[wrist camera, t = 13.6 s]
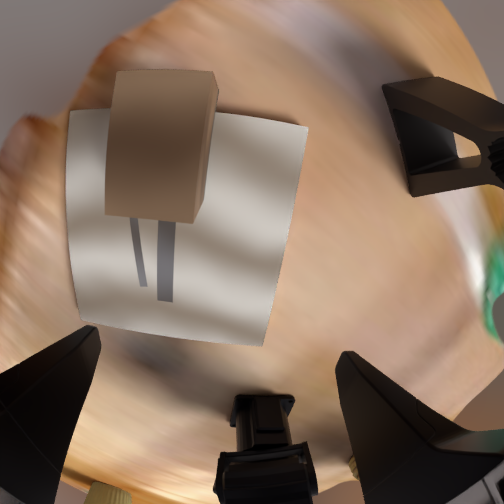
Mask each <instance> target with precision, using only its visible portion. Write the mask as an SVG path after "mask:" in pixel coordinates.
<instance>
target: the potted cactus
mask: <svg viewBox="0 0 504 504" xmlns="http://www.w3.org/2000/svg"><path fill="white" fill-rule="evenodd" d="M84 504H132V500H131V494H130V493H128V492H126V491H124V490H122V489H119V488H117V487H114V486H111V485H108V484H105V483H101V482H93V483H92V485H91V488H90V490H89V492H88V495H87V497H86V499H85V502H84Z"/></svg>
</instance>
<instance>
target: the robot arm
mask: <svg viewBox="0 0 504 504" xmlns="http://www.w3.org/2000/svg"><path fill="white" fill-rule="evenodd" d="M100 351H101V341H100V336H99V331H98V328H97V327H95V326H90V325H86V326H84V327H82V328H81V329H79V330H77V331H75V332H73V333H72V334H70V335H68V336H66V337H64V338H63V339H61V340H59V341H57V342H56V343H54V344H52V345H50V346H48V347H47V348H45V349H43V350H41V351H40V352H38V353H36V354H34V355H33V356H31V357H29V358H27V359H26V360H24V361H22V362H20V364H17V365H15V366H13V367H12V368H10V369H8V370H6V371H4V372H3V373H0V504H54V502H55V497H56V493H57V489H58V485H59V481H60V477H61V474H60V473H62V469H63V465H64V462H65V458H66V455H67V451H68V448H69V445H70V442H71V439H72V436H73V433H74V430H75V427H76V424H77V421H78V418H79V415H80V412H81V410H82V407H83V404H84V401H85V399H86V396H87V394H88V391H89V388H90V386H91V383H92V380H93V376H94V372H95V369H96V365H97V362H98V358H99V355H100ZM335 374H336V380H337V386H338V393H339V399H340V405H341V409H342V412H343V416H344V420H345V423H346V427H347V431H348V435H349V439H350V442H351V446H352V450H353V454H354V458H355V462H356V466H357V470H358V474H359V479H360V483H361V487H362V492H363V495H364V496H363V497H364V501H365V504H504V429H498V430H488V431H470V430H467V429H464V428H462V427H461V426H459V425H457V424H456V423H454V422H452V421H450V420H449V419H447V418H445V417H444V416H442V415H440V414H439V413H437V412H436V411H434V410H432V409H431V408H430V407H428V406H427V405H425V404H424V403H422V402H421V401H420V400H418V399H416V397H414V396H413V395H411V394H410V393H409V392H407V391H406V390H405V389H403V388H402V387H401V386H399V385H398V384H397V383H395V382H394V381H393V380H391V379H390V378H389V377H387V376H386V375H385V374H383V373H382V372H381V371H379V370H378V369H377V368H375V367H374V366H373V365H371V364H370V363H369V362H367V361H366V360H365V359H363V358H362V357H361V356H359V355H358V354H357V353H355V352H354V351H343V352H342V354H341V356H340V358H339V360H338V362H337V365H336V368H335ZM294 403H295V398H294V397H293V396H250V395H237V396H236V397H235V400H234V405H233V410H232V415H231V419H230V426H231V427H236V437H237V452H220V458H218V466H217V474H216V479H215V483H214V486H213V492H214V493H215V494H217V496H218V499H219V502H220V504H313V501H312V496H315V495H318V485H317V478H316V473H315V469H314V466H313V462H312V458H311V455H310V451H309V448H308V444H307V442H301V443H300V444H295V445H292V440H291V434H290V429H289V423H288V418H287V417H288V415H289V413H290V411H291V409H292V407H293V405H294Z"/></svg>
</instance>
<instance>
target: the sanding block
mask: <svg viewBox="0 0 504 504" xmlns="http://www.w3.org/2000/svg"><path fill="white" fill-rule="evenodd" d="M218 94H219V89H218V85H217V82H216V79H215V76H214V73H213V72H210V71H195V70H128V71H117V75H116V80H115V85H114V91H113V98H112V104H111V112H110V120H109V129H108V139H107V151H106V167H105V215H109V216H120V217H130V218H140V219H150V220H160V221H169V222H179V223H188V224H193V223H194V221H195V218H196V216H197V214H198V212H199V210H200V207H201V205H202V203H203V201H204V195H205V186H206V177H207V169H208V161H209V154H210V146H211V139H212V132H213V125H214V119H215V112H216V106H217V100H218Z"/></svg>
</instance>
